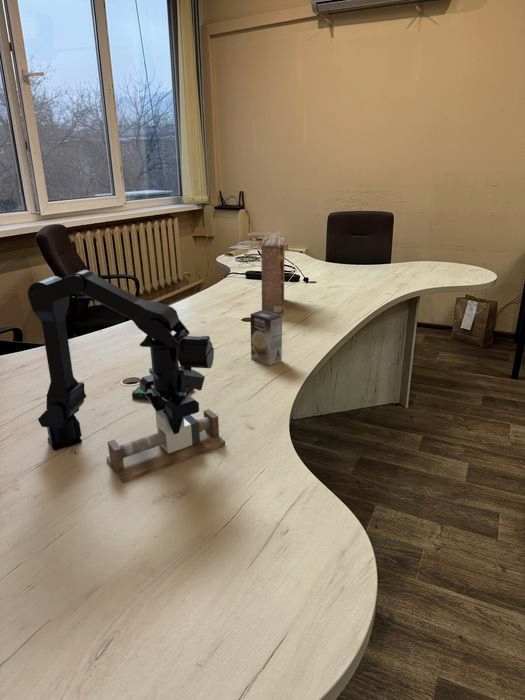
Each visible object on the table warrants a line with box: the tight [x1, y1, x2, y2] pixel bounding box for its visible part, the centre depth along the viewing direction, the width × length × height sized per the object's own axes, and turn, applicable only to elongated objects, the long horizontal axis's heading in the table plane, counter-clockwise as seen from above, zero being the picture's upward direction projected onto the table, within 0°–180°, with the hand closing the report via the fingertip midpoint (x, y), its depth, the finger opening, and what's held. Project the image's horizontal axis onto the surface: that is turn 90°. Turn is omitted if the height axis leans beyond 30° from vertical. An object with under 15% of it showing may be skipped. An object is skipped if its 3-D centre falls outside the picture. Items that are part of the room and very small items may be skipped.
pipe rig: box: [106, 408, 226, 484], centre depth 111 cm, size 25×10×6 cm, turn 125°
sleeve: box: [154, 409, 192, 454], centre depth 112 cm, size 6×5×8 cm
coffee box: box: [249, 309, 283, 366], centre depth 161 cm, size 9×6×16 cm
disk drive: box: [131, 385, 194, 402], centre depth 141 cm, size 10×3×15 cm
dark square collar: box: [184, 414, 200, 445], centre depth 114 cm, size 2×5×5 cm, turn 35°
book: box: [260, 235, 286, 316], centre depth 218 cm, size 25×9×30 cm, turn 176°
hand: (170, 428), depth 111 cm, fingers closed on sleeve, 5 cm apart
